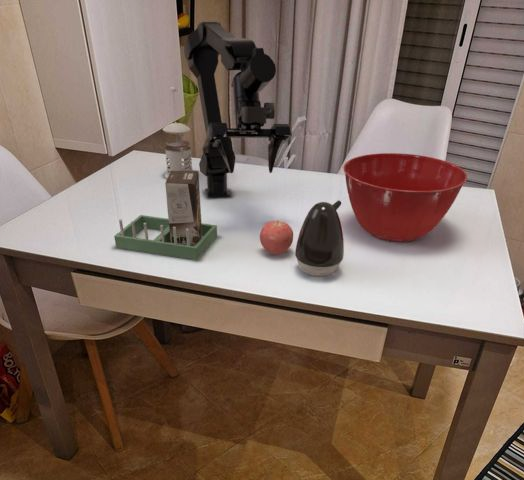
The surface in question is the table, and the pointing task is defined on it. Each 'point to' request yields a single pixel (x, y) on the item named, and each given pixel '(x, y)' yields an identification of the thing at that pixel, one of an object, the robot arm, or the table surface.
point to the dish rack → (162, 238)
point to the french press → (177, 147)
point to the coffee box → (184, 206)
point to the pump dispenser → (320, 240)
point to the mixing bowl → (401, 193)
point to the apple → (276, 237)
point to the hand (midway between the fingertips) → (251, 172)
